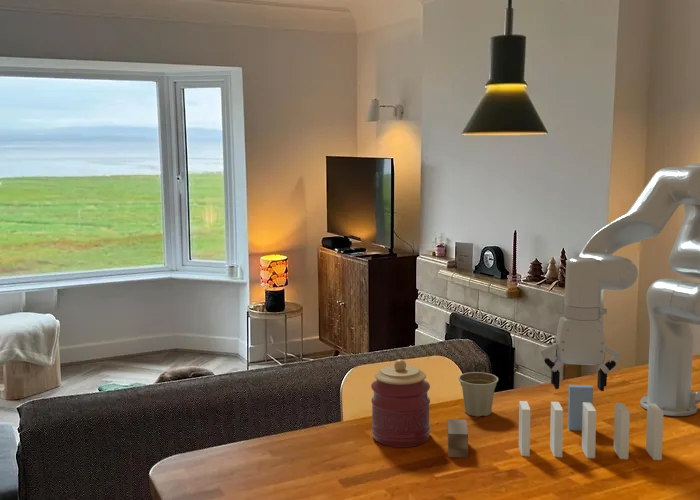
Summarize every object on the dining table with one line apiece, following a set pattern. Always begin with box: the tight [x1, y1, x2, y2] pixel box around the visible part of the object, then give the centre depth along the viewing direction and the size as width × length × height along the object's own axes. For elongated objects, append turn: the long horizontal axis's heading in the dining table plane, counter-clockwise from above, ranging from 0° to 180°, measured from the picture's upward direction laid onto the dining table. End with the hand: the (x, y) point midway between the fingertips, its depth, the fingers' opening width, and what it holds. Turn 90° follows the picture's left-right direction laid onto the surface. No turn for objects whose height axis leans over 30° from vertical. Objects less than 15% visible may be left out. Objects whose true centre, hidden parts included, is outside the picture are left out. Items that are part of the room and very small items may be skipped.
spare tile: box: [567, 384, 594, 431], centre depth 155 cm, size 2×5×10 cm, turn 84°
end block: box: [447, 418, 469, 458], centre depth 146 cm, size 4×8×5 cm, turn 173°
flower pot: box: [458, 371, 499, 417], centre depth 167 cm, size 9×9×9 cm
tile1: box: [645, 404, 665, 461], centre depth 141 cm, size 2×5×10 cm, turn 173°
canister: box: [370, 358, 431, 448], centre depth 152 cm, size 13×13×18 cm
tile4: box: [549, 401, 564, 458], centre depth 143 cm, size 2×5×10 cm, turn 174°
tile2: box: [613, 402, 631, 460], centre depth 142 cm, size 2×5×10 cm, turn 174°
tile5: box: [518, 400, 531, 457], centre depth 144 cm, size 2×5×10 cm, turn 173°
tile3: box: [581, 402, 597, 459], centre depth 142 cm, size 2×5×10 cm, turn 173°
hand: (578, 388), depth 154 cm, fingers open, 9 cm apart
